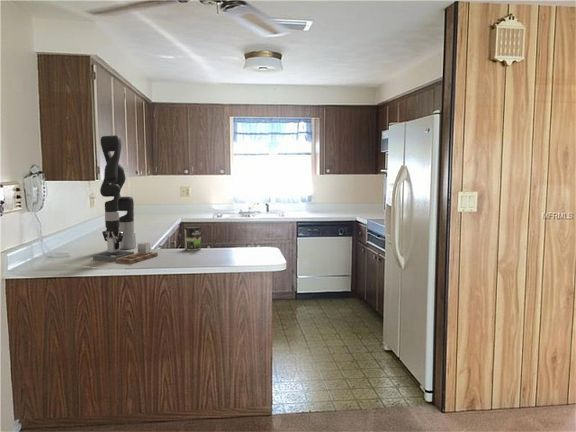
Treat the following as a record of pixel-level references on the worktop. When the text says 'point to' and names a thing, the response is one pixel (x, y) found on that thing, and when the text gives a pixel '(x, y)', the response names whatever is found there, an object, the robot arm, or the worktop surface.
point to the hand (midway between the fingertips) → (113, 248)
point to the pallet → (135, 258)
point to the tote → (108, 255)
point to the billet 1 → (112, 245)
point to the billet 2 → (144, 248)
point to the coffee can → (192, 237)
